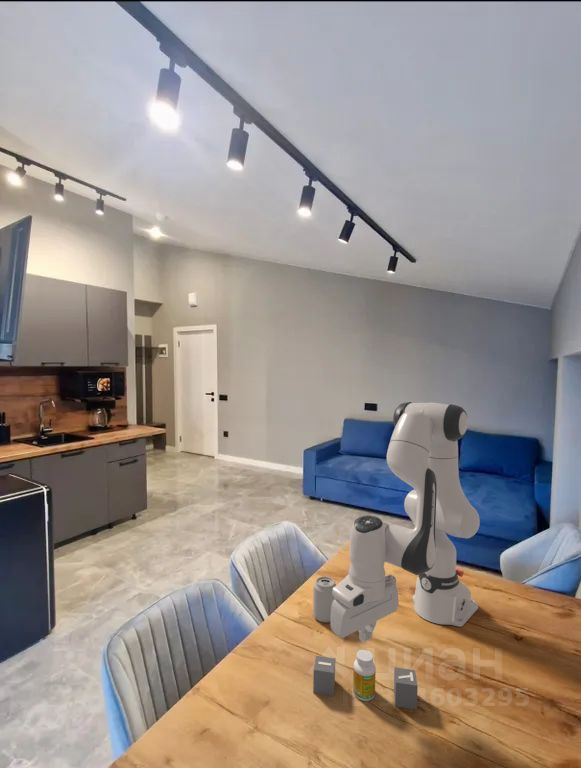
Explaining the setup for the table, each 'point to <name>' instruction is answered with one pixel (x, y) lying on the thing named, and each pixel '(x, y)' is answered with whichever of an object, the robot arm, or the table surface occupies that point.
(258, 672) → the table surface
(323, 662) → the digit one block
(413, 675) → the letter t block
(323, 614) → the can
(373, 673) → the supplement bottle
